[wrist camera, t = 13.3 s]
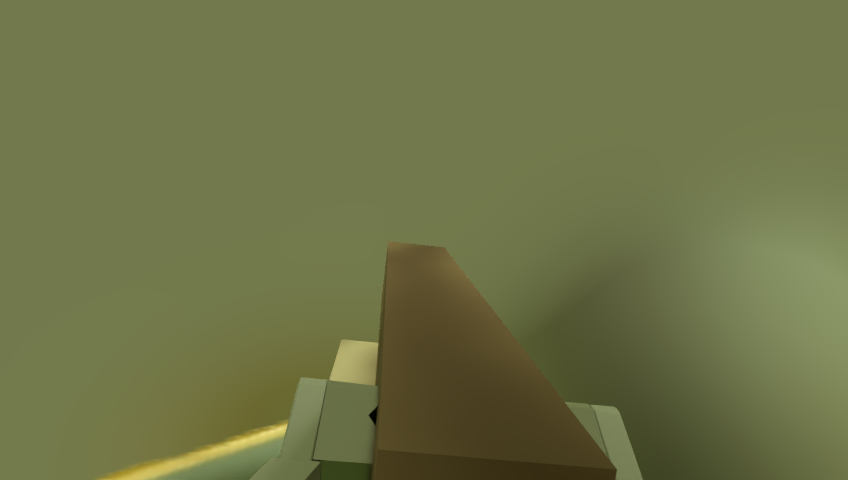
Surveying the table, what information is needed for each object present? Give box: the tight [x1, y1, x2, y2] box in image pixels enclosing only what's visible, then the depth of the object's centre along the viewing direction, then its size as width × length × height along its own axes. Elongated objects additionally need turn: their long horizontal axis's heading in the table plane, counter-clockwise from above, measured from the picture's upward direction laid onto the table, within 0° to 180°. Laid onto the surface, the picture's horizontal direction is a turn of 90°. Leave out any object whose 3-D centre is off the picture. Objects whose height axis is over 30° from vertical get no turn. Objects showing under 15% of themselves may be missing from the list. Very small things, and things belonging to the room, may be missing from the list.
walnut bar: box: [370, 241, 617, 480], centre depth 18 cm, size 3×22×3 cm, turn 3°
